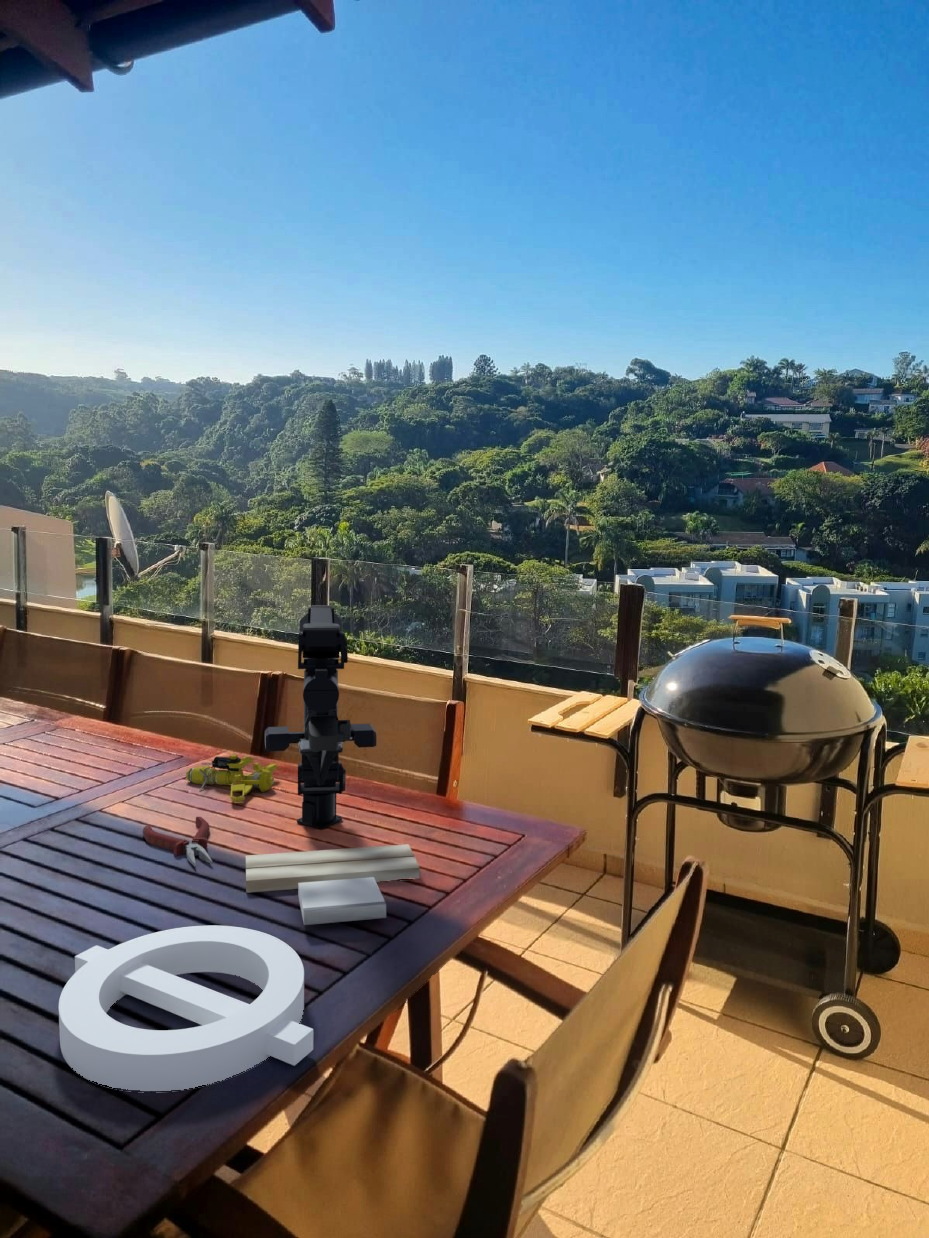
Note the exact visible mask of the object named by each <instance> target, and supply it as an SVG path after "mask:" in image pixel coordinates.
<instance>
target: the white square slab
mask: <svg viewBox="0 0 929 1238" xmlns="http://www.w3.org/2000/svg"><path fill="white" fill-rule="evenodd" d="M377 883H378V882H376V881H375V879H374V877H368V878H355V879H342V880H329V881H316V882H304V883H298V889H297V890H298V892H297V893H298V894H297V895H298V903H299V907H300V912H301V917H302V921H303V925H304V926H308V925H320V924H330V923H331V924H332V923H340V922H341V923H342V922H343V923H344V922H352V921H353V922H354V921H364V920H365V921H366V920H374V919H375V920H376V919H386V918H387V903H386V901H385V898H384V896H383V894H382V891H381V890H380V888H379V885H378V884H377Z"/></svg>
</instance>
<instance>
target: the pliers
mask: <svg viewBox="0 0 929 1238" xmlns="http://www.w3.org/2000/svg"><path fill="white" fill-rule="evenodd" d="M195 826H196V827H197V828H198V830H197V831H196V834H195V835H194V837H192V840H191V843H190V841H189V840H187V839H185V838H184V839H182V838H178V837H174V836H170V835H167V834H165V833H164V834H163V833H159V832H157V831H155V830H153V828H152V826H151V825H150V824H147V825H145V826H143V830H142V837H144V839H145V841H146V842H147V843H148V844H149V845H153V846H155V847H159V848H163V849H166V850H169V851H173V856H175V857H178V856H180V855H186V858H187V861H188V862H189V864H192V865H193V867H195V868H197V865H196V864H197V863H196V858H195V856H198V859H200V860H201V861H202V862H203V861H204V862H206V863H209V864H213V859H211V856H210V855H209V854H208V852H207V849H208V839H207V838H208V836H209V834H210V829H211V827H210V824H209V822H208V821H207V820H205V818H204V817H202V816H196V817H195Z"/></svg>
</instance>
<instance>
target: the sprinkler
mask: <svg viewBox="0 0 929 1238" xmlns="http://www.w3.org/2000/svg"><path fill="white" fill-rule="evenodd" d="M252 763H253V771H252V772H251V773H248V774H244V768H245V766H247V765H249V764H252ZM200 764H201V765H204V766H195V767H192V768H188V770H187V771H186V772H185V773H186V775H185V776H186V777H185V779H186V780H187V782H190V783H193V784H197V785H201V787H200V789H199V790H198V792H201V791H202V790H203V788H204V786H207V785H211V786H212V785H219V786H220V785H223V786H229V785H230V794H229V795H230V801H231V803H237V802H238V803H239V802H242V801H244V799H245V796H246V795H248V793H250V792H251V791H252V788H259V790H260V792H261V793H263V792H267V791H268V790H270V789H271V787H272V785H274V783H275V779H274V777H273V774H272V772H274V771H276V770H278V765H277V763H270V764H268V765H266V766H262V764H260V763H259V762H255V763H254V758H252V757H251V756H243V757H242V758H240V757H238V754H237V753H236V754H234V753H233V754H231V755H229V757H228V756H227V757H226V756H215V757H214V758H213V760H212V761H211V762H201V763H200ZM210 766H211V767H212V768H211V767H210ZM242 768H243V769H242ZM234 792H242V795H240V796H234Z"/></svg>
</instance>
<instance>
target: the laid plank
mask: <svg viewBox="0 0 929 1238" xmlns="http://www.w3.org/2000/svg"><path fill="white" fill-rule="evenodd" d="M420 871H421V870H420V865H419V863H418V860H417V859H416V856H415V854H414V853H413V850H412V848H411V846H410V844H408V843H407V844H393V845H392V844H391V845H379V846H377V845H376V846H363V847H362V846H361V847H351V848H350V847H349V848H337V849H336V848H334V849H323V850H321V849H320V850H308V851H304V850H303V851H292V852H291V851H290V852H277V853H266V854H265V853H263V854H248V855H245V893H246V894H247V893H261V892H271V891H272V892H273V891H284V890H295V889H297V890H298V883H304V882H316V881H329V880H342V879H355V878H368V877H374V879H375V881H376V883H381V882H380V881H387V880H397V879H409V878H418V877H419V878H420Z"/></svg>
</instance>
